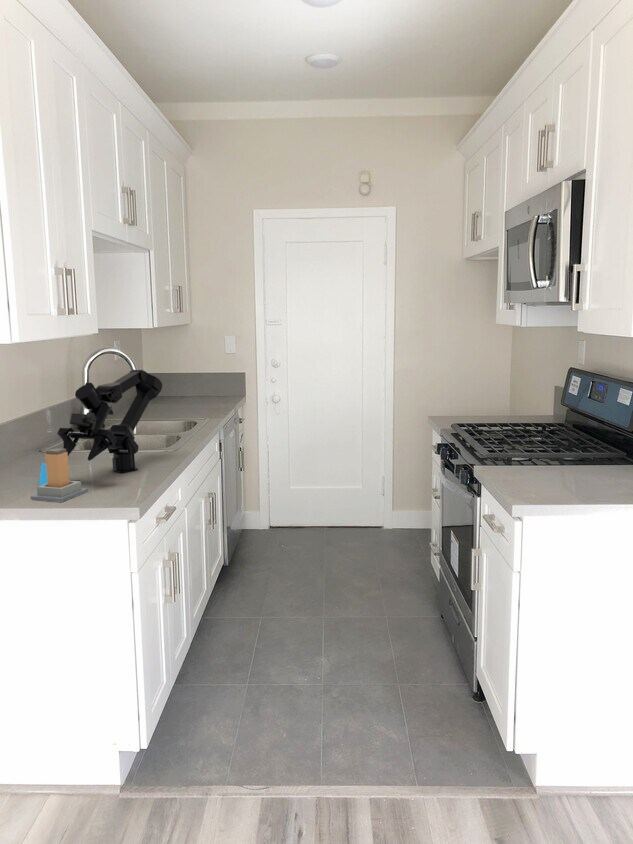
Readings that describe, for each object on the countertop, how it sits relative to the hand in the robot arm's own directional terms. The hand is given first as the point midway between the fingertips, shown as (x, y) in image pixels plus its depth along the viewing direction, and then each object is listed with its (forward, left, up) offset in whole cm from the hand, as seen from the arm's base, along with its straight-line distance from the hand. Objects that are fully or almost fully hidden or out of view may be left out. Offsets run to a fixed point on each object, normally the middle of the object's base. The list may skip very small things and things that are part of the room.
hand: (76, 459), depth 211 cm
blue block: (+2, -13, -10) cm, 16 cm away
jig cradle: (+8, +4, -9) cm, 13 cm away
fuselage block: (+8, +4, -8) cm, 12 cm away
